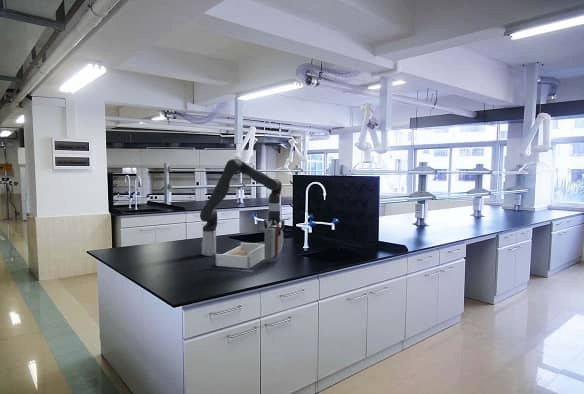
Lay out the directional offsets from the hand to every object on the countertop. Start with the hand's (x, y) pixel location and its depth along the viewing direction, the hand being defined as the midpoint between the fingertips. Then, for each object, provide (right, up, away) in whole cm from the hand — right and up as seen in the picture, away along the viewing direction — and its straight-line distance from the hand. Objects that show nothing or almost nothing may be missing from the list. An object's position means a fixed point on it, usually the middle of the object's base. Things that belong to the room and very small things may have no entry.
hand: (274, 235), depth 239 cm
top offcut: (-23, -14, +8) cm, 29 cm away
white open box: (-20, -18, +7) cm, 27 cm away
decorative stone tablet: (0, -13, +1) cm, 13 cm away
